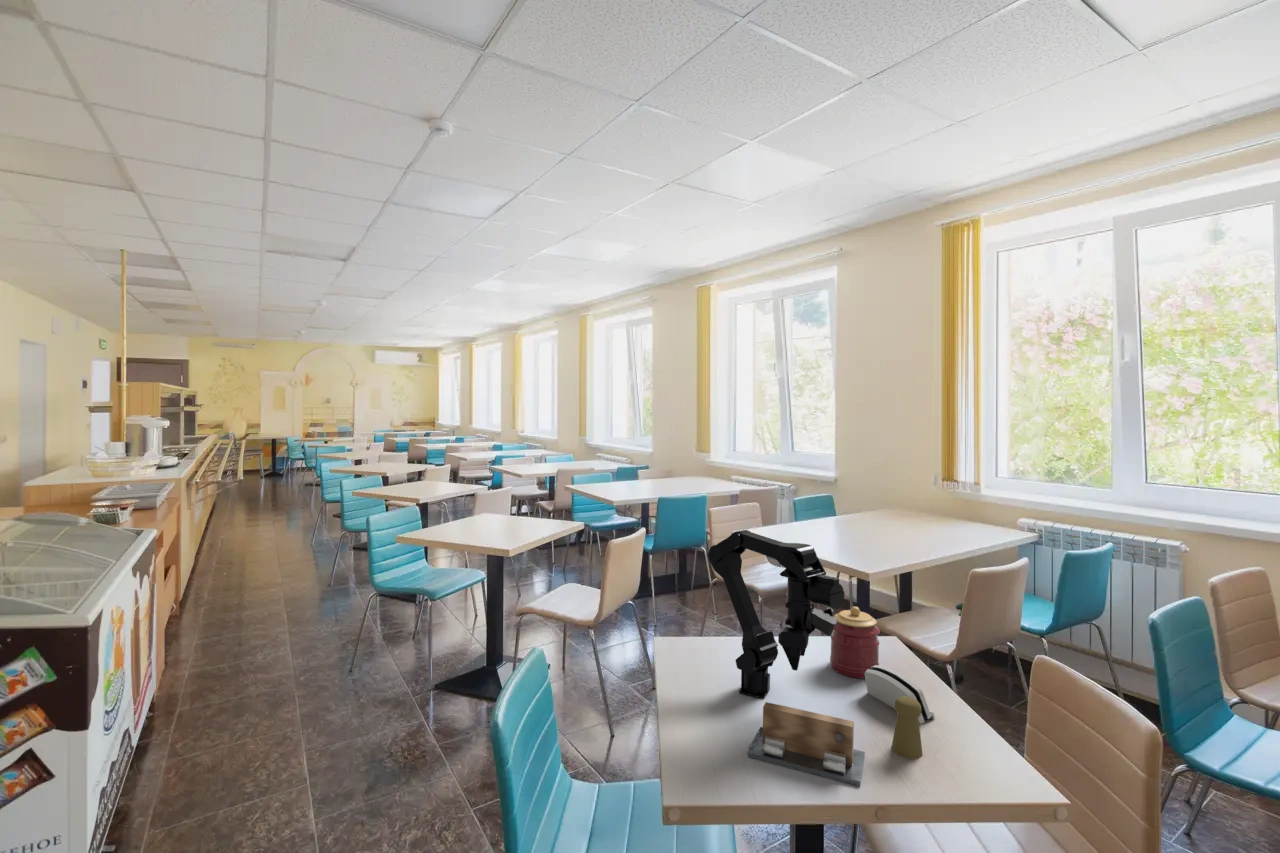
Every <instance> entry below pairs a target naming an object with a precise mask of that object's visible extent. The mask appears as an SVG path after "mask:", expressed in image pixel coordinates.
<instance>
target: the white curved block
mask: <svg viewBox="0 0 1280 853" xmlns="http://www.w3.org/2000/svg"><path fill="white" fill-rule="evenodd" d="M864 674H865V678H864V679H865V685H866V691H867V694H869V695H871V696H872V697H874V698H875V699H877V700H879V701H881V702H882V703H883V704H886V705H887V706H889V707H891V708H893V709H894V710H895V701H896V700H897V698H899V697H903V696H905V697H911V698H913V699H915V700H917V701H918V702H919V703H920V705H921V715H920V716H919V718H918V719H919V725H922V724H924V723H926V721H925V719H928V720H929V719H931V720H933V719H935V720H936V716H935V713H934V712H933V711H932V710H930V709H929V706H928V702H927V701H926V698H925V695H924V693H923V690H922V689H921V688H920V686H918V685H917V684H916V683H914V682H913V681H912V680H911V679H909V678H907V676H905V675H903V674H902V673H900V672H898V671H896V670H894V669H891V668H889V667H887V666H886V667H885V666H884V665H879V666H878V665H875V666H872V667H871V669H867V671H866V672H865V673H864Z"/></svg>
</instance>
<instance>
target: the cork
mask: <svg viewBox="0 0 1280 853" xmlns="http://www.w3.org/2000/svg"><path fill="white" fill-rule="evenodd" d="M894 710H895V712H896V713H897V714H896V719H895V726H894V731H893V736H892V742H891V749H892V751H893V752H894V753H895V754H897V755H898V756H901V757H902V758H905V759H906V758H907V759H913V760H915V759H916V760H917V759H920V758H922V757H923V756H924V755H923V745H922V738H921V730H920V729H921V728H920V723H919V719H918V718H919V716H920V715H921V705H920V703H919V702H918V701H917V700H915V699H913V698H911V697H905V696H903V697H899V698H897V700H896V701H895V709H894Z"/></svg>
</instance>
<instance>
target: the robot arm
mask: <svg viewBox="0 0 1280 853" xmlns="http://www.w3.org/2000/svg"><path fill="white" fill-rule="evenodd" d="M746 550H749V551H751V552H753V553H754V552H755V553H757V554H759V555H760V554H761V555H763V556H766V557H769V558H770V559H771V558H772V559H774V560H775V561H777V562H778V564H779V565H780V566H782V567H784V569H783V571H781V572H780V573H779V575H780V576H781V577H785V578H787V590H786V591H787V594H786V595H787V597H786V599H787V600H786V602H785V604H784V605H785V606H784V607H785V608H786V618H785V620H784V624H785V625H786V626H784V627H783V628H782V629H781V630H780V631H779V633H778V635H777V636H778V643H777V641H776V639H775V635H774V632H773V631H772V630H766V629H765V628H764V627H762V624H761V623H760V620H759V618H758V617H759V616H758V614H757V611H756V609H755V607H754V604H753V601H752V598H751V596H750V594H749V591H748V588H747V585H746V583H745V580H744V577H743V575H742V566H743V564H742V563H743V561H742V556H741V555H743V554H744V553H745V552H746ZM707 557H708V560H709V563H710V564H711V565H710V566H712V569H713V570H714V572H716V573H717V575H718V576H720V577H721V579H722V580H723V581H724V585H725V587H726V590H727V593H728V595H729V599H730V600H731V603H732V607H733V609H734V612H735V615H736V617H737V619H738V622H739V624H740V628H741V630H742V637H741V638H742V640H741V647H742V652H743V653H742V654H741V655H739V656H738V657H737V658H736V659H735V664H736V669H738V670H740V673H741V674H740V676H741V677H740V678H741V679H740V682H741V683H740V689H739V690H738V693H739V694H741V695H747V696H751V697H755V698H761V699H765V698H766V695H768V693H769V692H770V689H771V685H770V684H771V674H770V673H769V667H773V665H774V663H775V661H776V659H778V655H779V650H778V647H779V645H780V646H781V647H782V650H783V652H784V654H785V655H786V658H787V660H788V662H789V665H790V667H791V670H792V671H796V672H797V671H799V670H798V669H799V664H800V660H801V657H804V656H805V653H806V650H807V648H808V645H809V636H810V635H811V634H812V633H813V632H814V631H815V630H817V631H820V632H821V633H823V634H824V635H825V636H828V637H831V634H832V632H833V630H834V627H835V625H836V622H837V619H836V617H834V616H835V614H834V610H838V609H840V608H841V606H842V605H843V603H844V600H845V591H844V588H843V585H842V584H840V578H839V577H834V576H832V577H831V576H827V572H826V569H825V568H824V566H823V565H822V563H821V561H820V558H819V557H818V555H817V552H816V551H815V547H813V546H812V545H810V544H806V543H798V542H797V543H796V542H783V541H779V540H776V539H774V538H772V537H771V538H770V537H767V536H764V535H761V534H758V533H755V532H751V531H750V530H748V529H742V530H741V529H740V530H736V531H734V532H733V533H731V534H730V535H729V536H728V537H727V538H725V539H723V540H721V541H720V542H718V543H717V544H713V545H712V546H710V547H709V550H708V553H707ZM809 569H810V570H809ZM805 570H806V571H805ZM815 604H816V605H819V606H821V607H822V606H823V607H825V608H824V609H823V610H822V609H818V608H815ZM788 626H789V627H788Z"/></svg>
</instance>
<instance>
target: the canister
mask: <svg viewBox="0 0 1280 853" xmlns="http://www.w3.org/2000/svg"><path fill="white" fill-rule="evenodd" d="M834 617H836V619H837V622H836V625H835V627H834V630H833V632H832V634H831V636H830V643H831V644H830V657H829V661H830V667H831V668H832V669H833V670H834V671H835V672H836V673H839V674H841V675H844V676H846V677H850V678H855V679H856V678H858V679H865V674H864V673H865V672H866V671H867V669H871V667H872V666H875V665H878V666H880V663H879V656H880V655H879V651H880V650H879V646H880V641H879V638H878V637H879V636H878V635H879V634H880V632H881V630H880V628H879V627H878V626H877V620H876V619H875V618H874V617H873V616H871V615H870V614H869V613H867V612H864V611H861V610H860V608H859V607H858V606H852V607H850V609H846V610H841V611H839V612H838V613H836V614H834Z"/></svg>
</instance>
